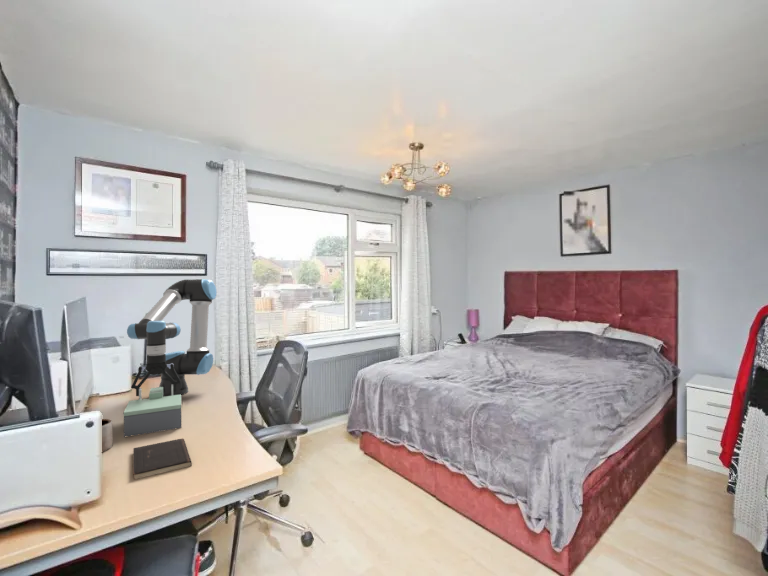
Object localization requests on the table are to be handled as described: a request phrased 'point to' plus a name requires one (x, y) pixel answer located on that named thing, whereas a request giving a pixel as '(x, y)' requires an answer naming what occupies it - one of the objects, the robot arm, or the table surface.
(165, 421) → the tub
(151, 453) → the hardcover book
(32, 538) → the table surface
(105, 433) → the planter
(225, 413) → the table surface
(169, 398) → the lid
